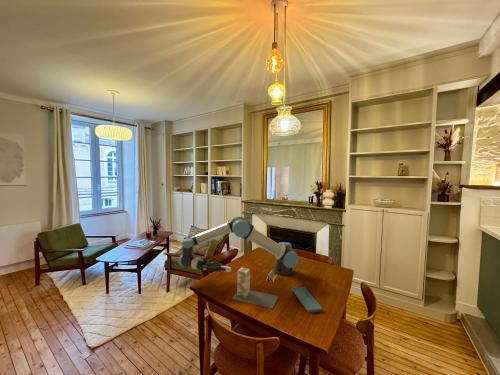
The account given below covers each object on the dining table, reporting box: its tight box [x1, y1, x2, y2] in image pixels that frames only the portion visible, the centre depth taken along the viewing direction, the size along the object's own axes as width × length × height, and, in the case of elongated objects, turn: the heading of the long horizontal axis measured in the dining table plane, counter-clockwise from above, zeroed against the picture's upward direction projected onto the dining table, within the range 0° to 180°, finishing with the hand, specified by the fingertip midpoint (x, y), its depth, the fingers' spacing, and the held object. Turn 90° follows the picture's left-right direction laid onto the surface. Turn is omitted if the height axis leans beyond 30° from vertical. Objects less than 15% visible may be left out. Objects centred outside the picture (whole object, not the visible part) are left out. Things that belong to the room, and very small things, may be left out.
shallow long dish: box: [291, 286, 323, 313], centre depth 137 cm, size 26×9×2 cm, turn 9°
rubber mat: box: [231, 289, 279, 310], centre depth 138 cm, size 26×14×1 cm, turn 68°
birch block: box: [236, 267, 251, 298], centre depth 141 cm, size 6×6×16 cm
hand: (230, 269), depth 143 cm, fingers closed
